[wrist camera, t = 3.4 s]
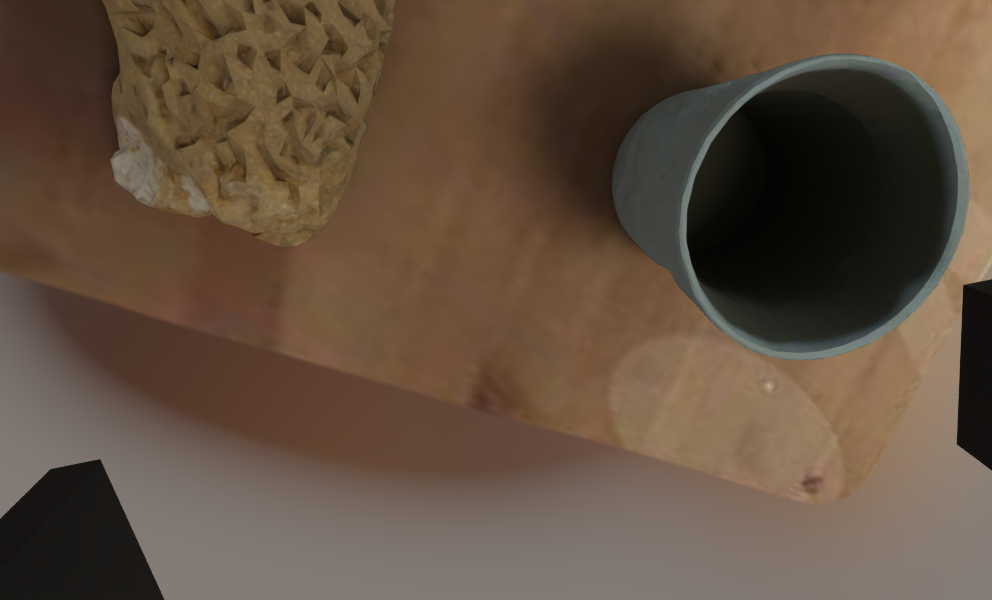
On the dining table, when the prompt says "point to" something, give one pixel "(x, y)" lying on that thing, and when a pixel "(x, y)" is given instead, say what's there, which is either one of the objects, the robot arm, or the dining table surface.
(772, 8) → the dining table surface
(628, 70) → the dining table surface
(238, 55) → the sponge
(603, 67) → the dining table surface
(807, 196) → the embossed green cup
